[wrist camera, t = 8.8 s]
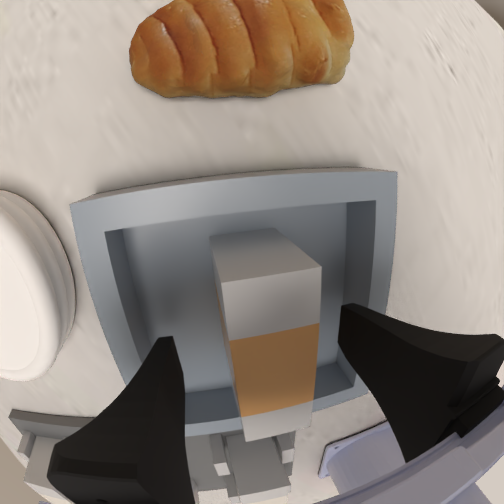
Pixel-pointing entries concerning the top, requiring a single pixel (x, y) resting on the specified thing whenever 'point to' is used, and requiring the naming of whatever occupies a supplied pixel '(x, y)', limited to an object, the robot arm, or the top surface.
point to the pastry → (241, 47)
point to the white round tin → (31, 291)
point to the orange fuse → (268, 328)
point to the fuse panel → (197, 447)
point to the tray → (202, 277)
